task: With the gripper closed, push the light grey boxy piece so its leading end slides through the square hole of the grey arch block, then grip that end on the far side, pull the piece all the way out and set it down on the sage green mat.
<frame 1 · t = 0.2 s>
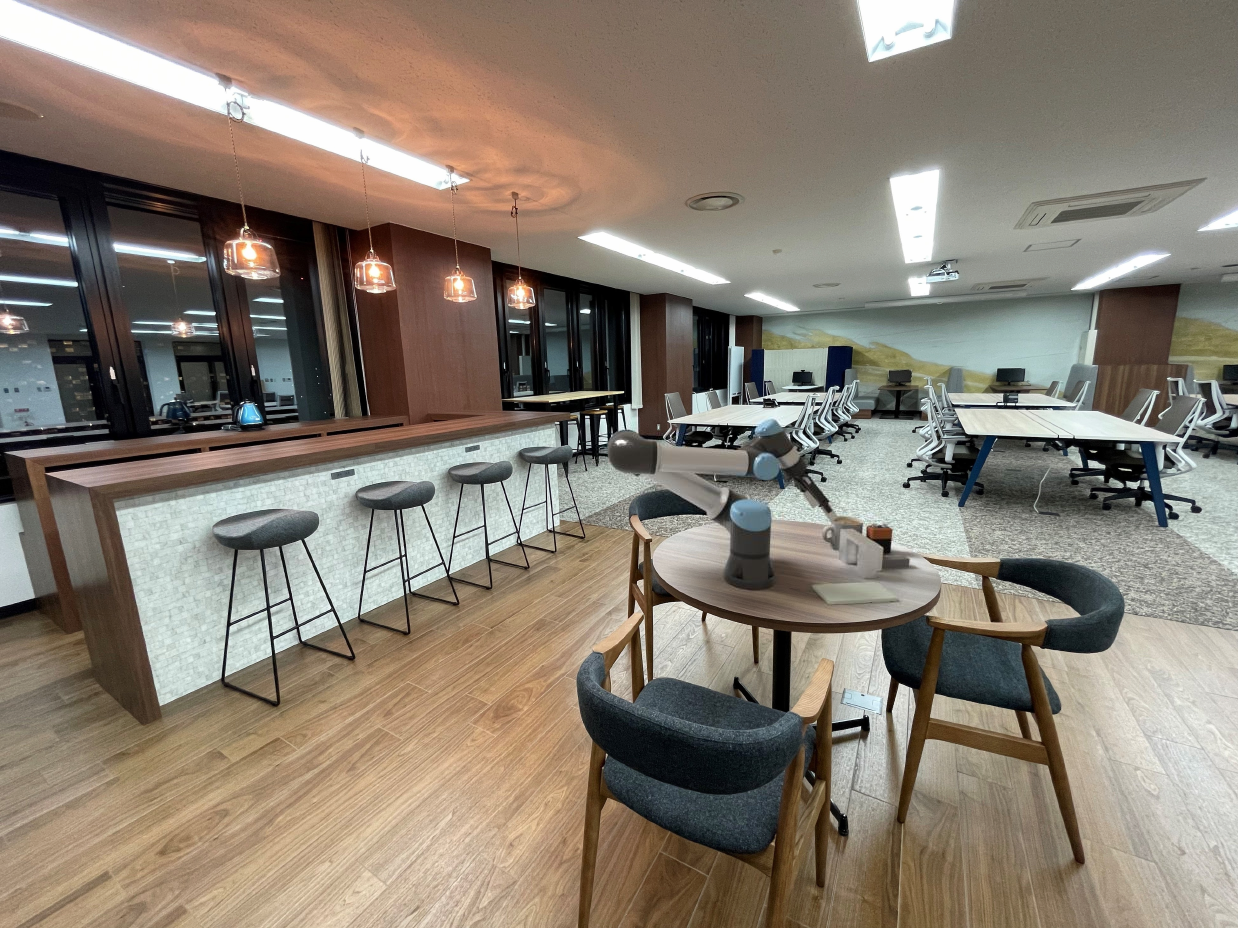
hand: (824, 512, 155), 16 cm above the table, tool tilted 35°, fingers open, 13 cm apart
coffee mug: (840, 547, 167), on the table
mat: (853, 594, 132), on the table
light grey boxy piece: (876, 567, 149), on the table
grey arch block: (856, 568, 149), on the table
battery: (877, 552, 162), on the table
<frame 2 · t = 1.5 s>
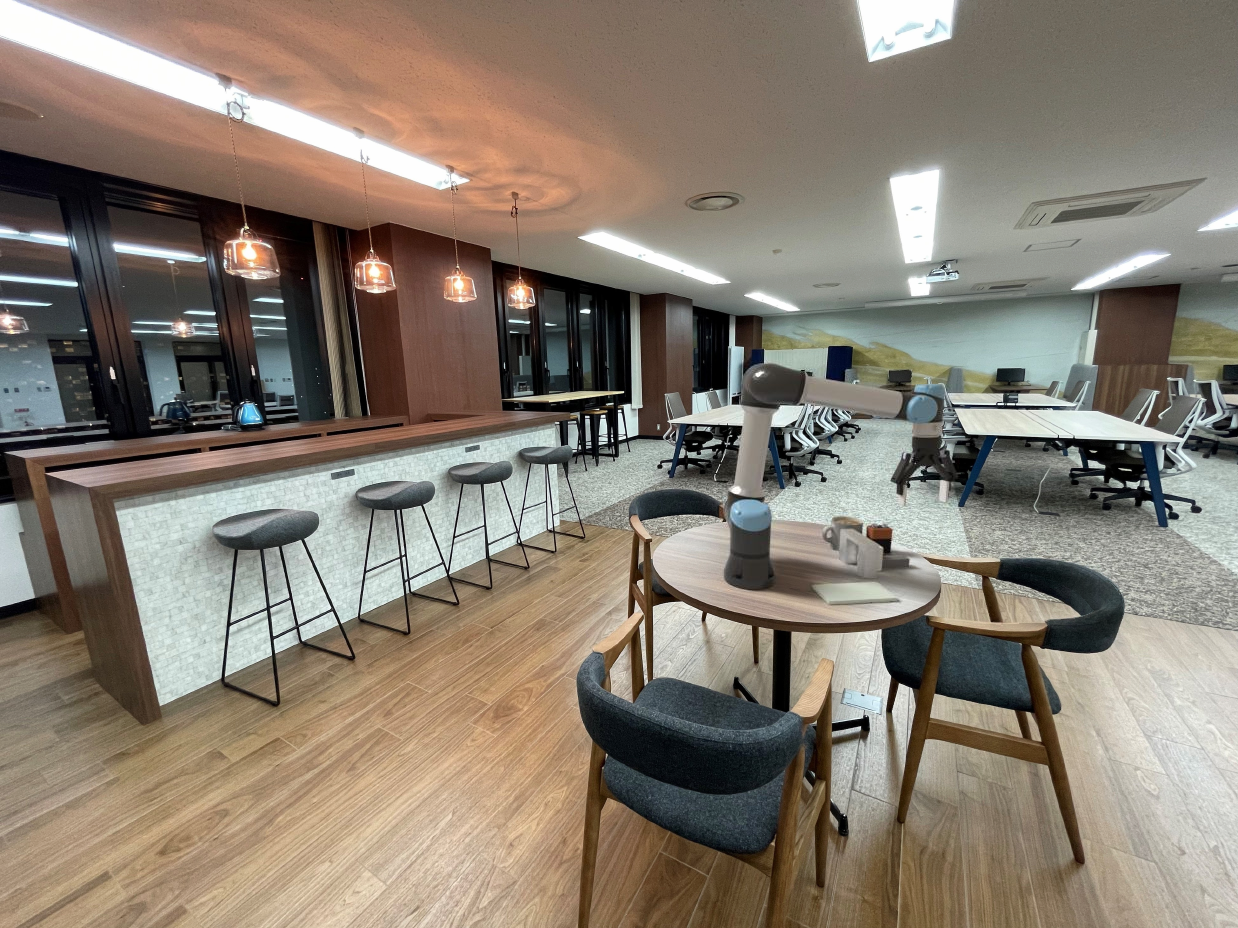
hand: (922, 503, 147), 20 cm above the table, tool pointing down, fingers open, 13 cm apart
nothing on the table moved.
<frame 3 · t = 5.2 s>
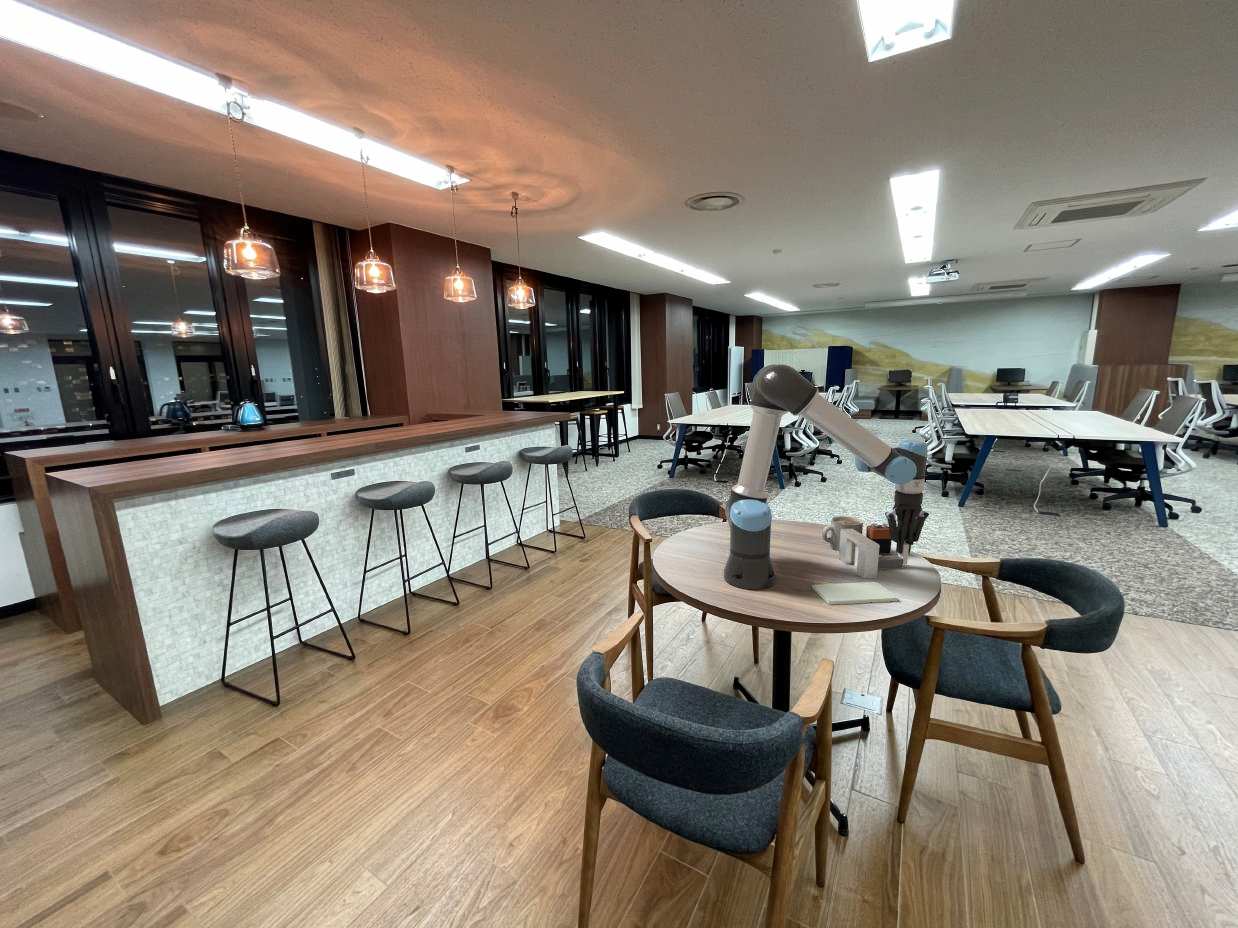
hand: (902, 562, 150), 1 cm above the table, tool pointing down, fingers closed
light grey boxy piece: (870, 567, 149), on the table, touching gripper
everything else where it was.
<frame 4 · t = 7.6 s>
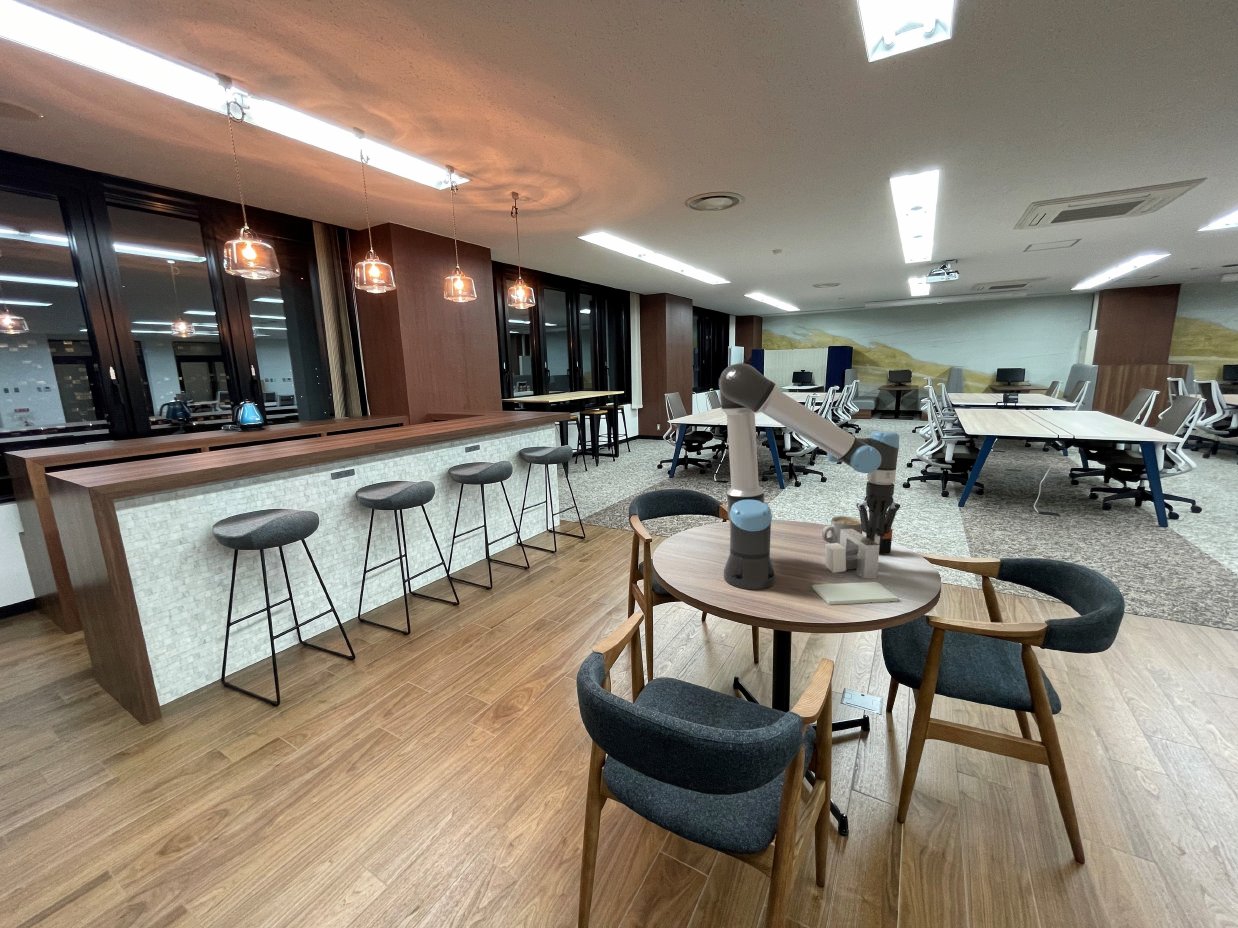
hand: (873, 554, 149), 4 cm above the table, tool pointing down, fingers closed
light grey boxy piece: (841, 567, 149), on the table, tilted 5°
everything else where it was.
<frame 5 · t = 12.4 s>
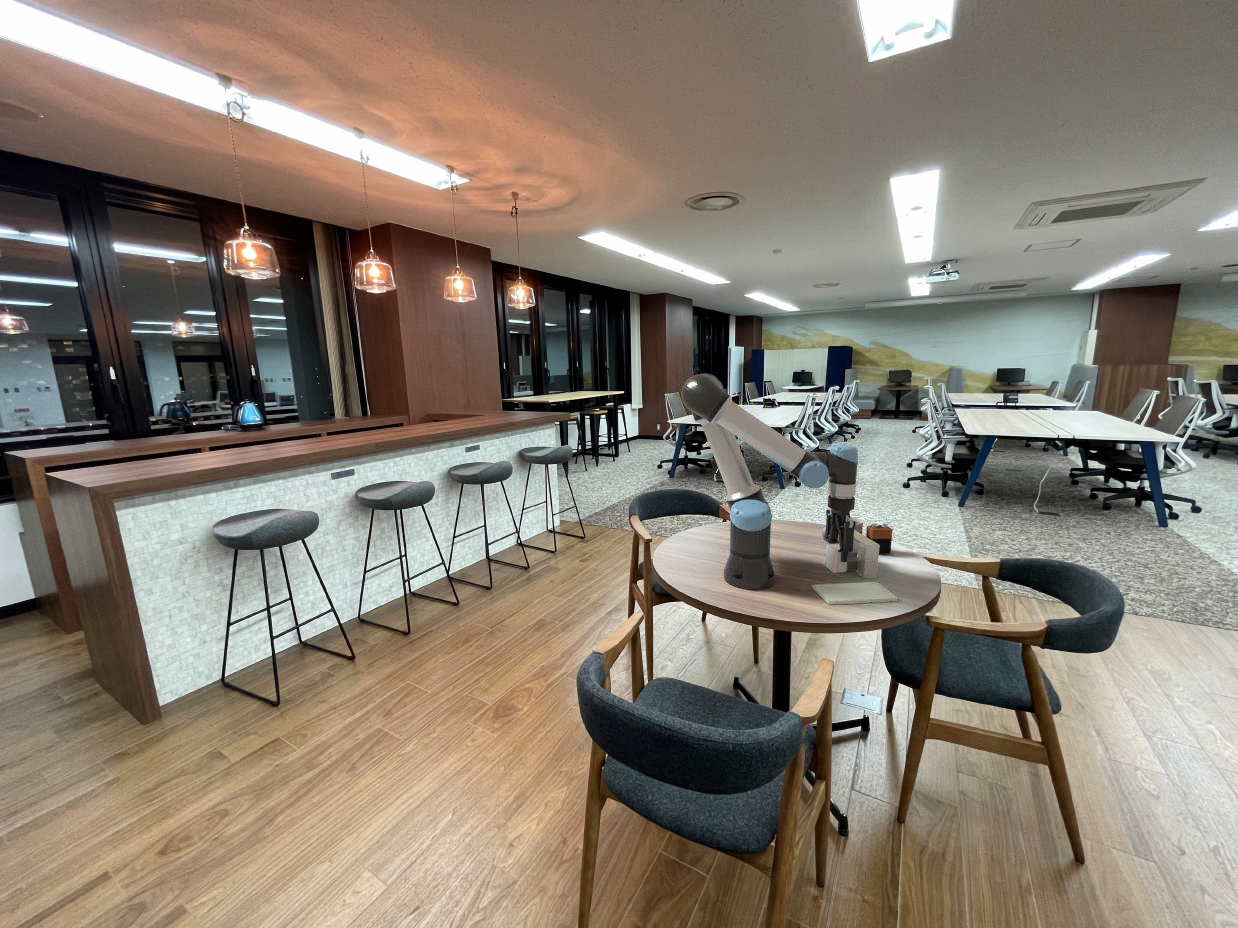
hand: (836, 566, 149), 1 cm above the table, tool pointing down, fingers closed on light grey boxy piece, 5 cm apart
light grey boxy piece: (841, 568, 149), on the table, touching gripper
everything else where it was.
when the fingers open (4 cm above the table, at t = 19.4 s): light grey boxy piece drops 2 cm, resting on mat.
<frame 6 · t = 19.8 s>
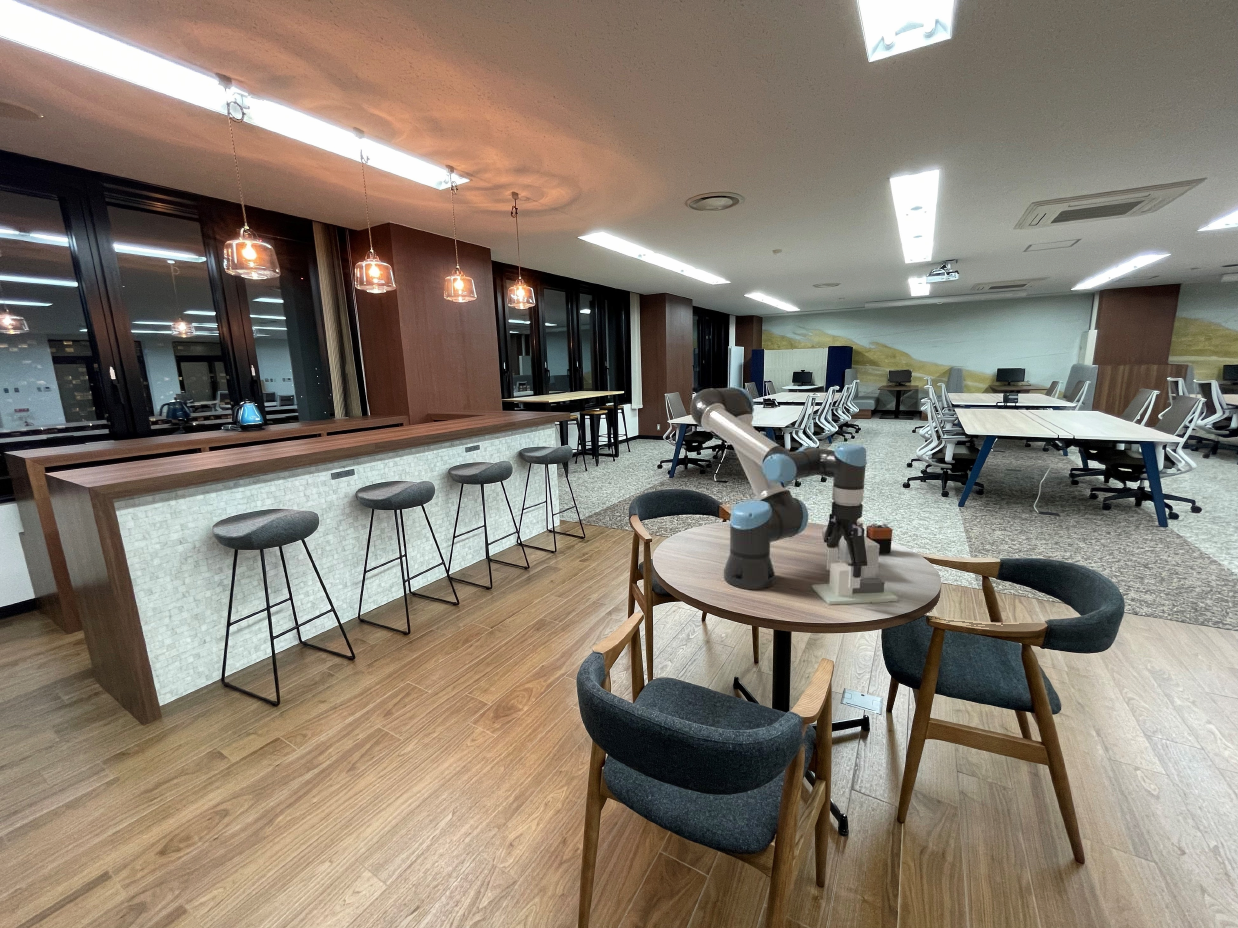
hand: (842, 577, 131), 5 cm above the table, tool pointing down, fingers open, 11 cm apart
light grey boxy piece: (847, 591, 132), point 1 cm above the table, touching mat
everything else where it was.
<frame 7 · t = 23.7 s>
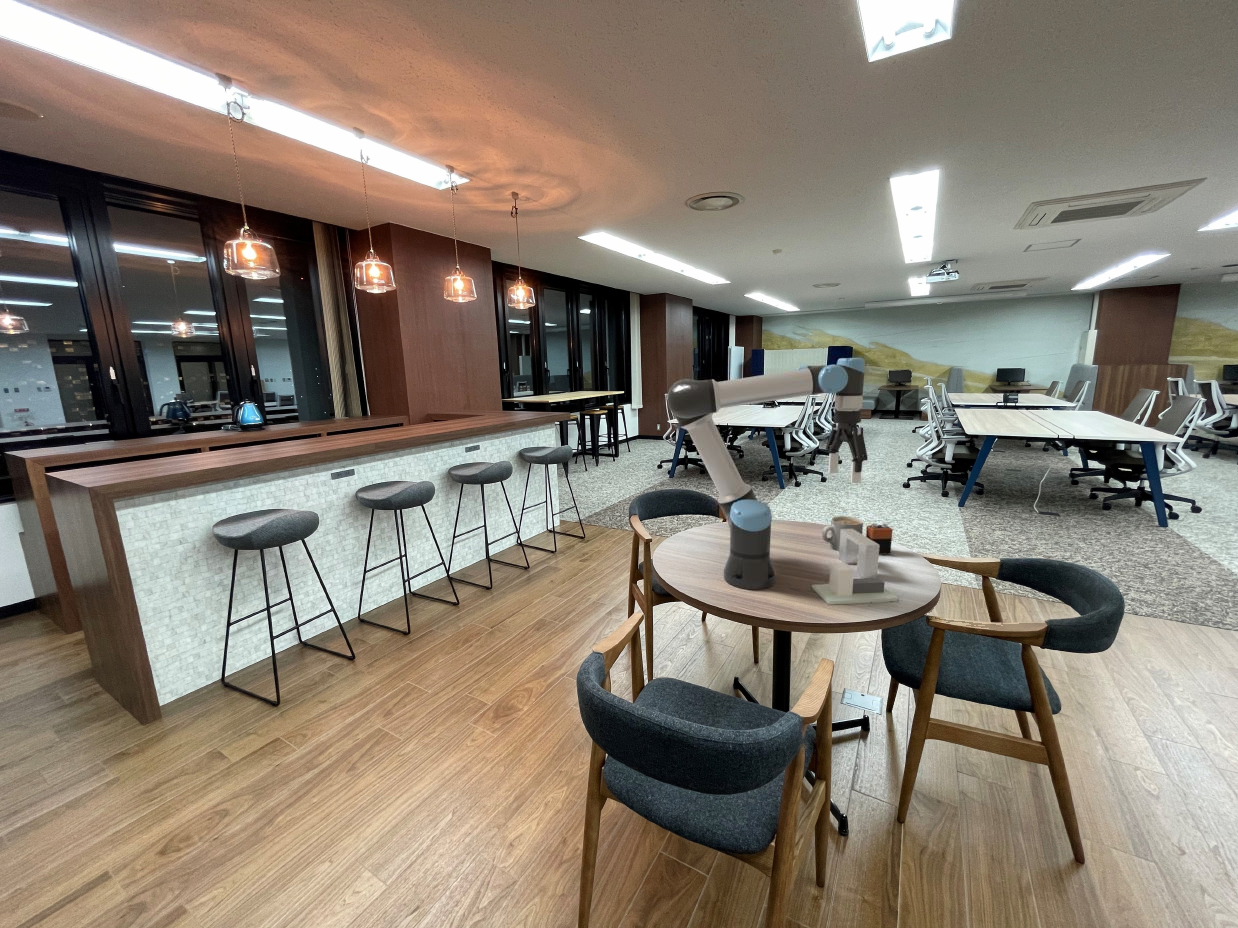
hand: (843, 477, 147), 29 cm above the table, tool pointing down, fingers open, 13 cm apart
nothing on the table moved.
at the end: light grey boxy piece inside the target area on the mat (0.7 cm from its centre), point 1.0 cm above the mat's base; the gripper is holding nothing; light grey boxy piece tilted 0° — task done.
